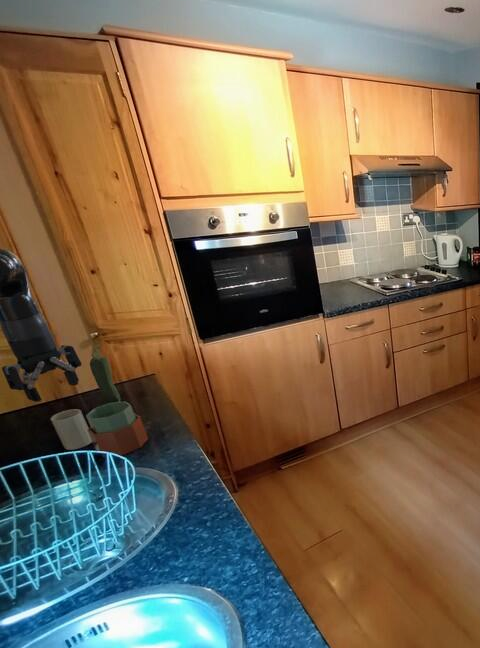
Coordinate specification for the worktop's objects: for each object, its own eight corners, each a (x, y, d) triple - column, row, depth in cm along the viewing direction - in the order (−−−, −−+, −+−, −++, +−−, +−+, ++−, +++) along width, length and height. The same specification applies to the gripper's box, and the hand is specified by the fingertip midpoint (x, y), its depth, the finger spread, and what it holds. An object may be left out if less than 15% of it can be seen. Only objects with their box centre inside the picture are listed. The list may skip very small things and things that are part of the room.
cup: (69, 452, 117) (55, 423, 114) (61, 445, 120) (47, 416, 117) (96, 441, 122) (84, 413, 118) (88, 435, 125) (75, 407, 121)
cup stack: (108, 461, 114) (92, 424, 110) (92, 448, 119) (76, 413, 115) (153, 441, 122) (140, 406, 118) (137, 430, 127) (123, 396, 122)
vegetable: (104, 408, 138) (79, 348, 129) (108, 402, 141) (84, 343, 133) (122, 405, 139) (98, 346, 131) (126, 399, 143) (103, 341, 135)
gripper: (49, 322, 115) (74, 378, 122) (-22, 343, 103) (11, 405, 109) (72, 324, 114) (96, 381, 121) (4, 346, 101) (35, 408, 108)
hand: (56, 392), depth 115 cm, fingers open, 8 cm apart
